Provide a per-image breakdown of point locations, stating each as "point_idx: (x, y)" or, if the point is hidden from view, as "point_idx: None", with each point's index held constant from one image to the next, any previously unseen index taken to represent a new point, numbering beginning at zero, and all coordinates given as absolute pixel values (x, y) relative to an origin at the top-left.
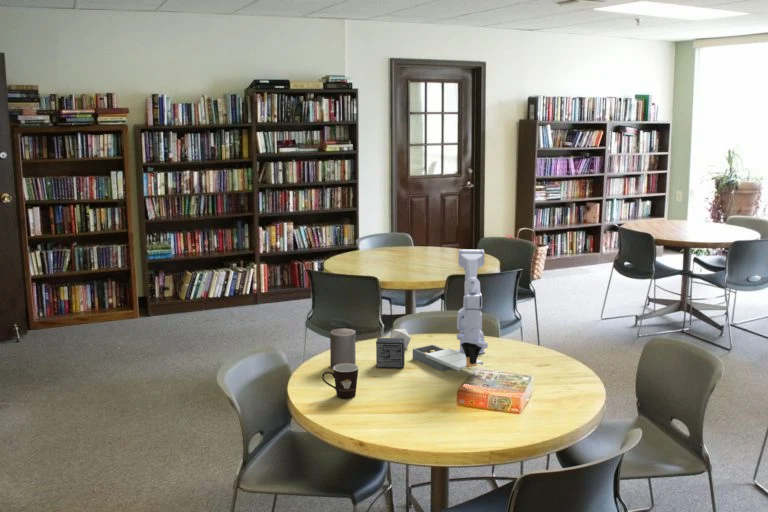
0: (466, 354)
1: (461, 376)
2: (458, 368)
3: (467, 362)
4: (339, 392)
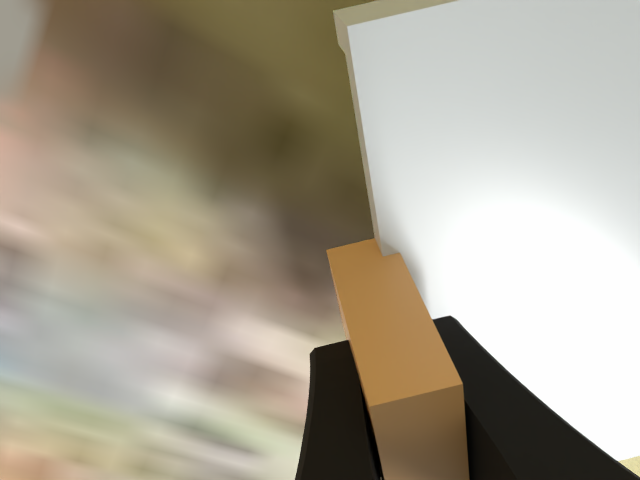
0: (525, 459)
1: None
2: (349, 18)
3: (376, 308)
4: None
